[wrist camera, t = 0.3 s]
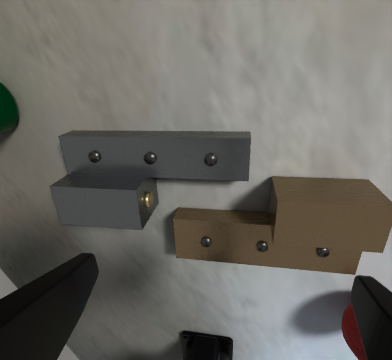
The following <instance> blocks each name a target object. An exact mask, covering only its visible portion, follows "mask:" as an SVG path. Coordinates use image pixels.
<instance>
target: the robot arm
mask: <svg viewBox="0 0 392 360" xmlns="http://www.w3.org/2000/svg"><path fill="white" fill-rule="evenodd" d="M98 274H99V270H98V266H97V262H96V259H95V256H94V254H92V253H81V254H80V255H78V256H76V257H74V258H72V259H71V260H69V261H67V262H65V263H64V264H62V265H60V266H58V267H57V268H55V269H53V270H51V271H49V272H48V273H46V274H44V275H42V276H41V277H39V278H37V279H35V280H34V281H32V282H30V283H28V284H26V285H25V286H23V287H21V288H19V289H18V290H16V291H14V292H12V293H11V294H9V295H7V296H5V297H4V298H2V299H0V360H57V359H58V357H59V355H60V353H61V351H62V350H63V347H64V346H65V344H66V342H67V340H68V339H69V337H70V335H71V333H72V331H73V329H74V328H75V326H76V324H77V322H78V320H79V318H80V316H81V314H82V312H83V310H84V308H85V305H86V303H87V301H88V298H89V296H90V294H91V291H92V289H93V287H94V284H95V282H96V280H97V277H98ZM350 298H351V304H352V307H353V311H354V315H355V318H356V322H357V325H358V329H359V333H360V336H361V340H362V343H363V347H364V350H365V353H366V356H367V359H368V360H392V292H391V291H390V290H388V289H387V288H386V287H384V286H383V285H382V284H381V283H379V282H378V281H377V280H375V279H374V278H373V277H370V276H361V275H358V276H356V277H355V279H354V283H353V287H352V291H351V295H350ZM181 339H182V349H183V360H232V356H233V340H232V339H231V338H227V337H220V336H213V335H206V334H199V333H193V332H186V331H184V332H182V336H181Z"/></svg>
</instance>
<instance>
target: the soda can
mask: <svg viewBox="0 0 392 360" xmlns="http://www.w3.org/2000/svg"><path fill="white" fill-rule="evenodd" d="M17 119H18V106H17V103H16V100H15V98H14V96H13V95H12V93H11V92H10V91H9V90H8V89H7V88H6V87H5V86H4V85H3V84H2V83H0V134H1V133H5V132H8V131H10V130H12V129H13V128H14V126H15V125H16V122H17Z"/></svg>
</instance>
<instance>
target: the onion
mask: <svg viewBox="0 0 392 360" xmlns="http://www.w3.org/2000/svg"><path fill="white" fill-rule="evenodd" d="M342 332H343V337H344V339H345V341H346V343H347V344H348V346H349V348H350V349H351V350H352V352H353V353H354V354H355V356H356V357H357V358H358V360H368V359H367V356H366V353H365V350H364V347H363V343H362V340H361V336H360V333H359V329H358V325H357V322H356V318H355V315H354V311H353V307H352V304H351V303H350V304H349V305H348V307H347V308H346V309H345V311H344V313H343V318H342Z"/></svg>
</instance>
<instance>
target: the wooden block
mask: <svg viewBox="0 0 392 360" xmlns="http://www.w3.org/2000/svg"><path fill="white" fill-rule="evenodd" d="M173 224H174V236H175V247H176V258H185V259H195V260H206V261H216V262H227V263H237V264H248V265H258V266H269V267H279V268H290V269H300V270H311V271H322V272H332V273H343V274H353V275H355V273H356V270H357V267H358V263H359V260H360V257H361V253H362V251H366V252H378V253H383V251H384V248H385V245H386V242H387V239H388V236H389V233H390V230H391V227H392V202H391V201H390V200H389V199H388V198H387V197H386V196H385V195H384V194H383V193H382V192H381V191H380V190H379V189H378V188H377V187H376V186H375V185H374V184H373V183H372V182H371V181H369V180H364V179H335V178H307V177H279V176H272V181H271V191H270V201H269V212H268V213H261V212H245V211H228V210H211V209H195V208H178V209H177V211H176V213H175V216H174V218H173Z"/></svg>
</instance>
